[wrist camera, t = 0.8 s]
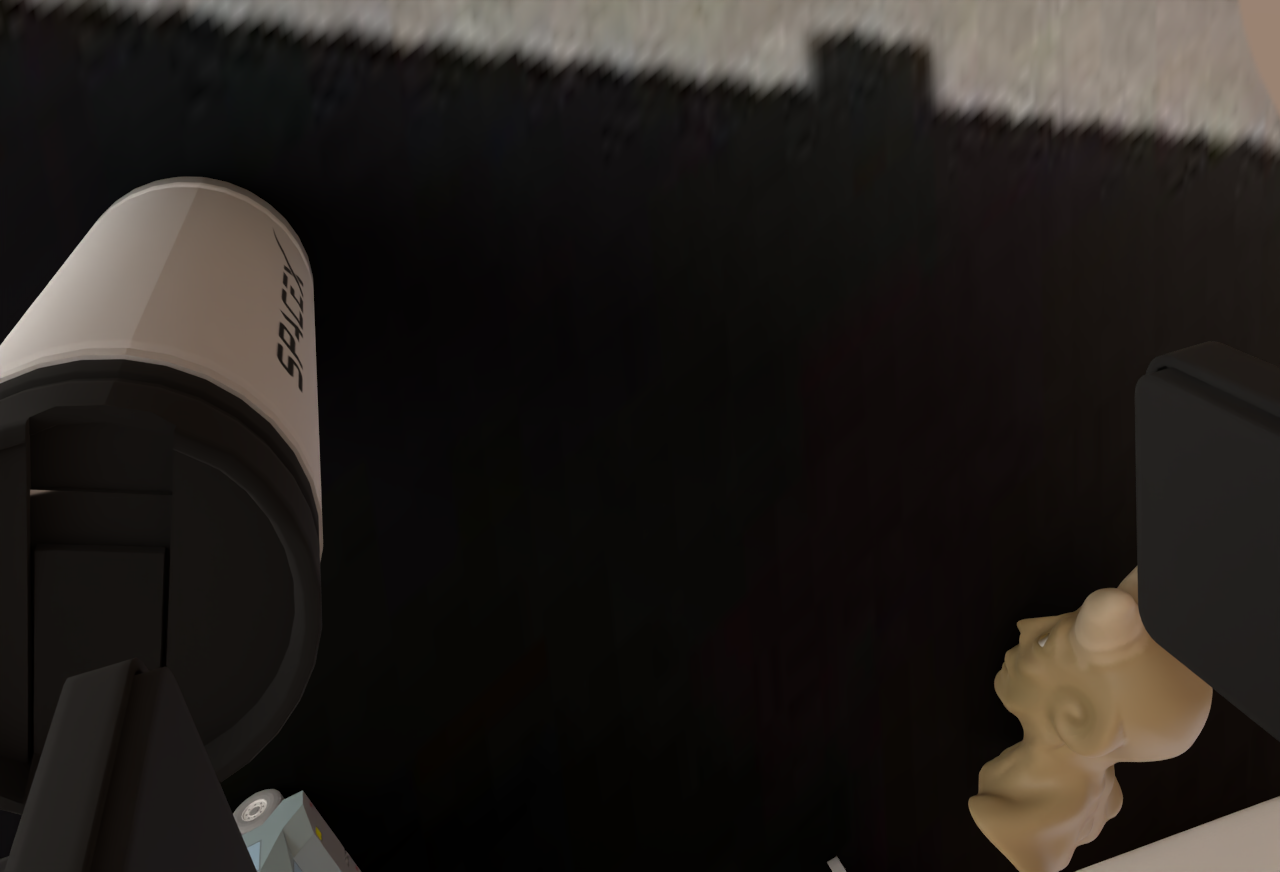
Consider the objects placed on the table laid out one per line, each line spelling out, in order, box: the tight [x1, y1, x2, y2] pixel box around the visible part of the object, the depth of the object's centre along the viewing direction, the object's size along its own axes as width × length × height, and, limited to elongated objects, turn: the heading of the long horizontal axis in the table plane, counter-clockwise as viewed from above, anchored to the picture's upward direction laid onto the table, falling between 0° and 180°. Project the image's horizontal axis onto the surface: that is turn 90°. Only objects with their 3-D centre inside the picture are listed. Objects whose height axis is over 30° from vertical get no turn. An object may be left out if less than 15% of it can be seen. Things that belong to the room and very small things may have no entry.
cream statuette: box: [968, 566, 1212, 872], centre depth 44 cm, size 8×7×12 cm
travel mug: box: [0, 177, 323, 815], centre depth 25 cm, size 6×7×20 cm
